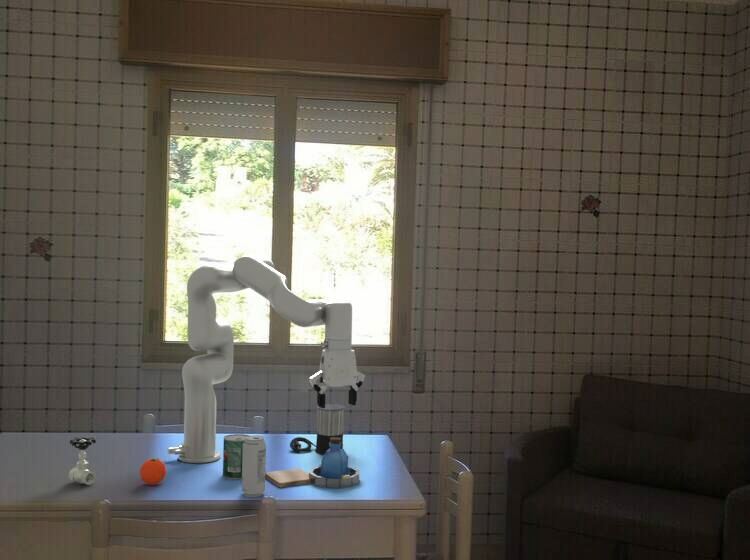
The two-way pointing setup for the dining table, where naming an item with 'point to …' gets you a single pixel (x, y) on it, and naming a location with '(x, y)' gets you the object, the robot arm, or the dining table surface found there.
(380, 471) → the dining table surface
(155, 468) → the clementine
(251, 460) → the energy drink can
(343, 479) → the collar
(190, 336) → the robot arm
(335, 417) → the milk frother
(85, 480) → the valve
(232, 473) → the canned tomato
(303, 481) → the pad
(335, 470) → the perfume bottle
